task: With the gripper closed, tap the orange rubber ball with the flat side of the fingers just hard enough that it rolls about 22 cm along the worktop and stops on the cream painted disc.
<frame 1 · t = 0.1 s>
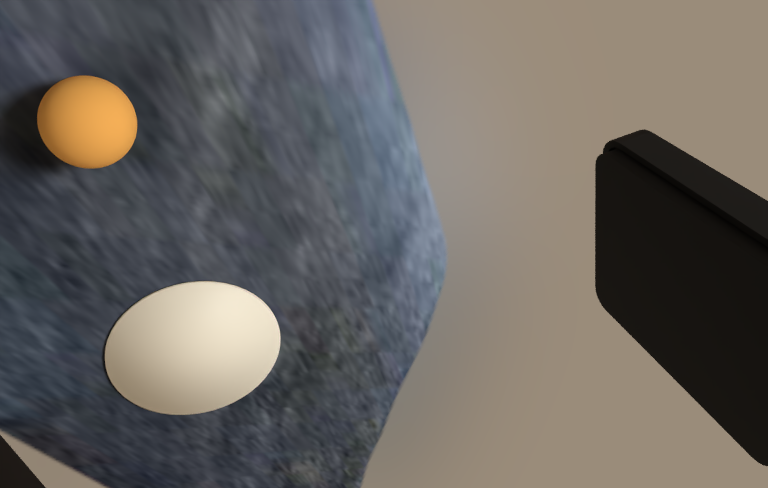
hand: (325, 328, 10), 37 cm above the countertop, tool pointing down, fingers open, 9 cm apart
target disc: (196, 350, 55), on the countertop
ball: (88, 122, 40), on the countertop
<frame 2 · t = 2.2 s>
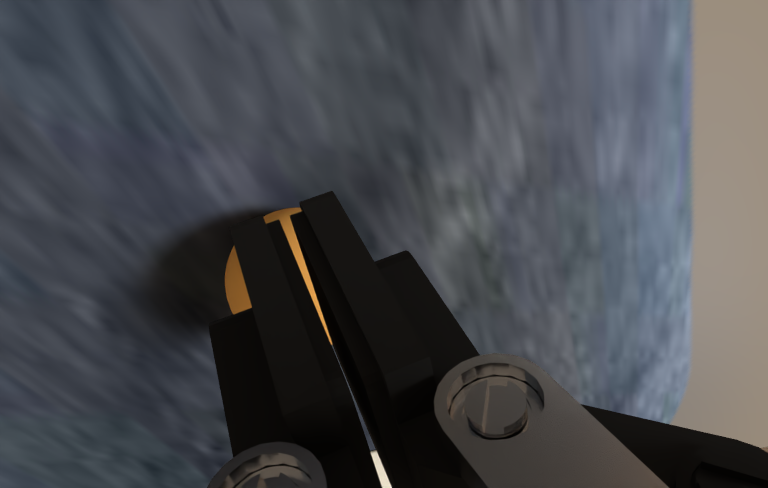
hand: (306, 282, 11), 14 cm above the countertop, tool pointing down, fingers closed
ball: (299, 279, 25), on the countertop
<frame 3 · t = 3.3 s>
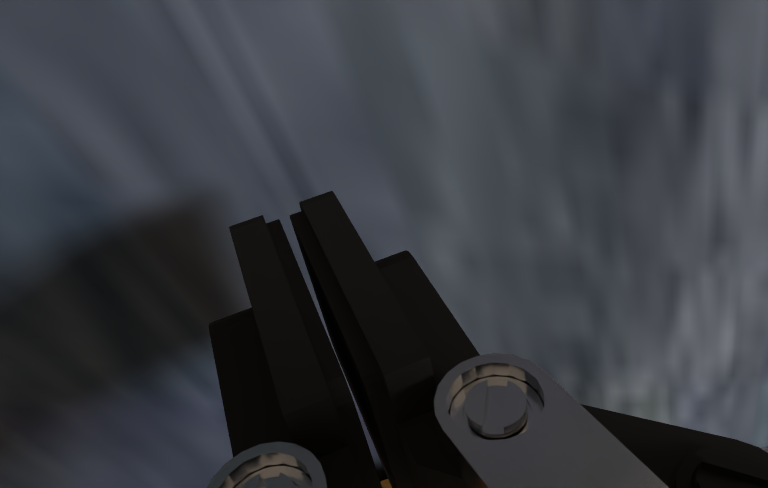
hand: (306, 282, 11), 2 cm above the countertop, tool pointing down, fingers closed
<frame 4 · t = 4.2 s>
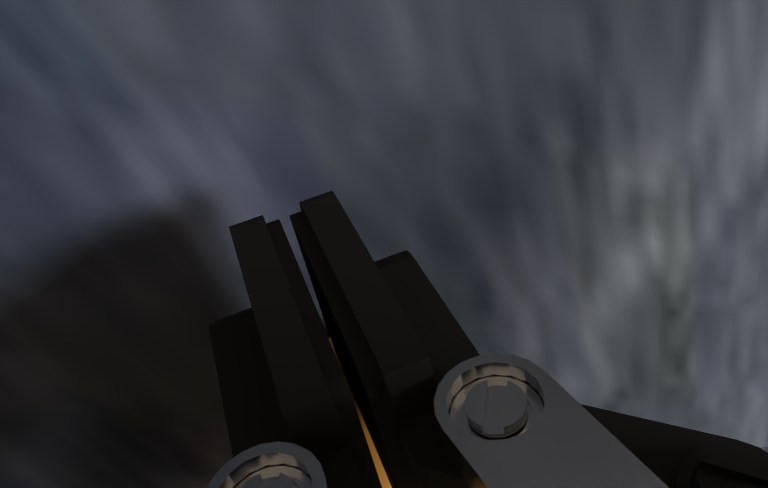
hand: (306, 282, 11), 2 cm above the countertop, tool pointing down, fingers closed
ball: (381, 472, 13), on the countertop, touching gripper
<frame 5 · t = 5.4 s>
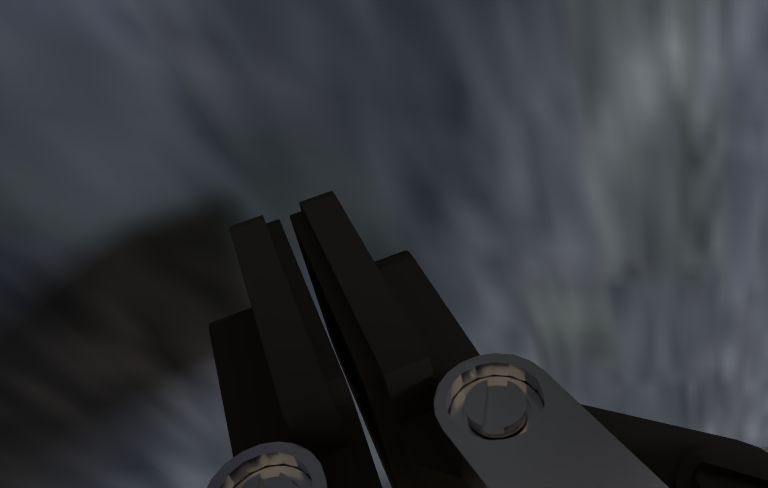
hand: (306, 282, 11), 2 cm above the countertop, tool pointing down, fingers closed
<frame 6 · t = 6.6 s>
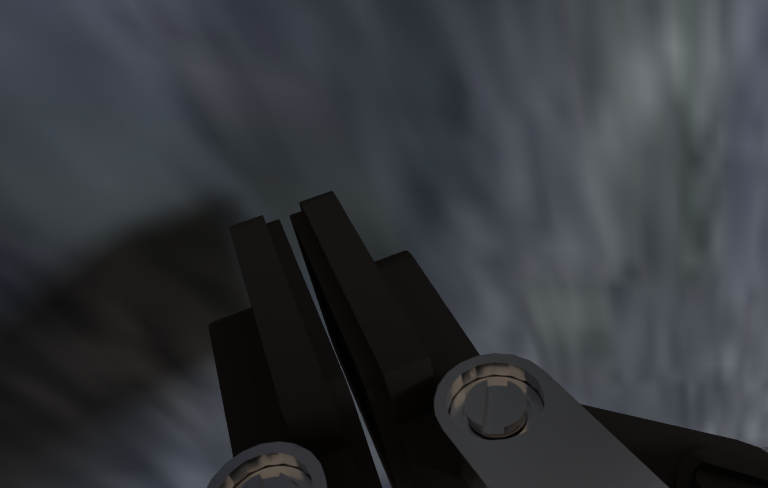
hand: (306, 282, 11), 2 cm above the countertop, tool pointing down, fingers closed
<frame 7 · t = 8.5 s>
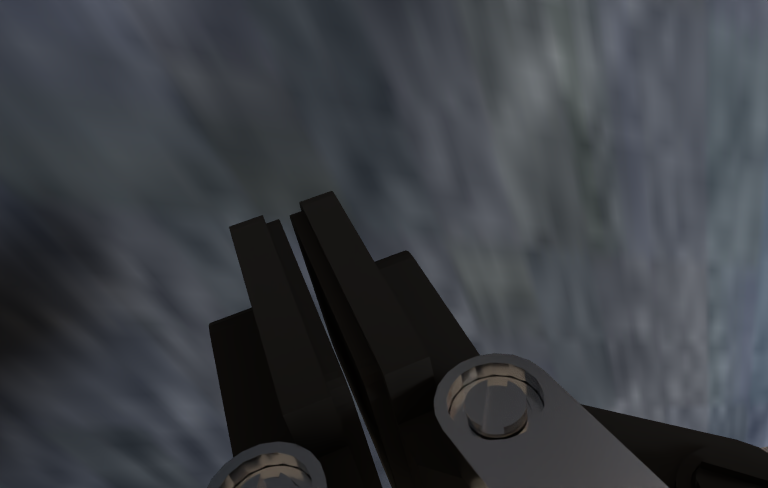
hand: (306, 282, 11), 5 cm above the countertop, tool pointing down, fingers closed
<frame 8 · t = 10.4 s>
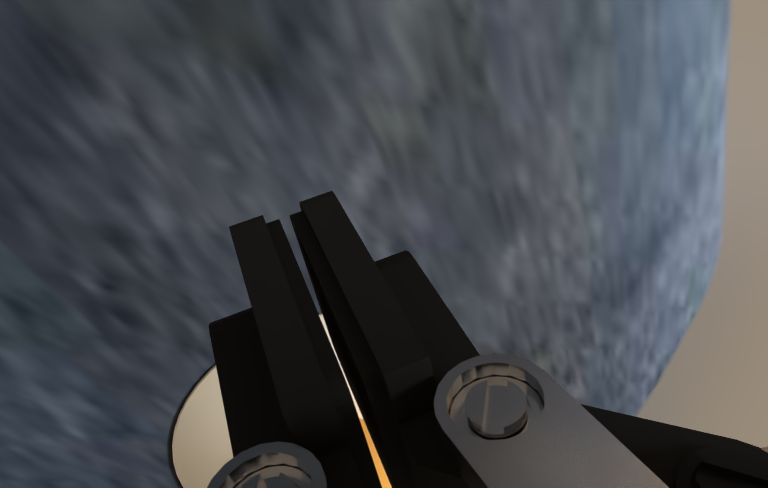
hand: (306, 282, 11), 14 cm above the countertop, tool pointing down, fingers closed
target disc: (322, 426, 32), on the countertop
ball: (343, 477, 31), on the countertop
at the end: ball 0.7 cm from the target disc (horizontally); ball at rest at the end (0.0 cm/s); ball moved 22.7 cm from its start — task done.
